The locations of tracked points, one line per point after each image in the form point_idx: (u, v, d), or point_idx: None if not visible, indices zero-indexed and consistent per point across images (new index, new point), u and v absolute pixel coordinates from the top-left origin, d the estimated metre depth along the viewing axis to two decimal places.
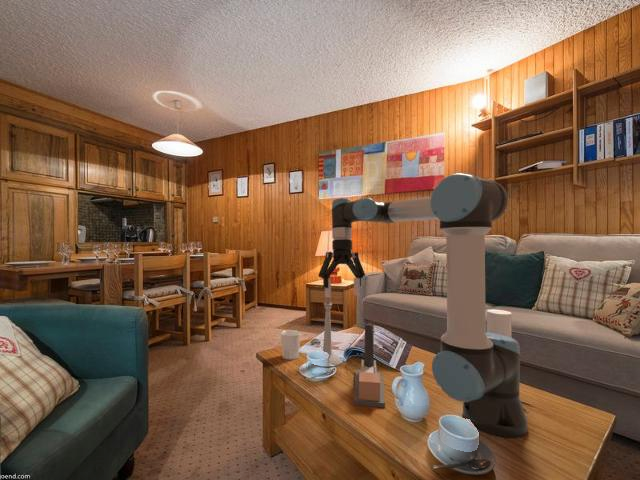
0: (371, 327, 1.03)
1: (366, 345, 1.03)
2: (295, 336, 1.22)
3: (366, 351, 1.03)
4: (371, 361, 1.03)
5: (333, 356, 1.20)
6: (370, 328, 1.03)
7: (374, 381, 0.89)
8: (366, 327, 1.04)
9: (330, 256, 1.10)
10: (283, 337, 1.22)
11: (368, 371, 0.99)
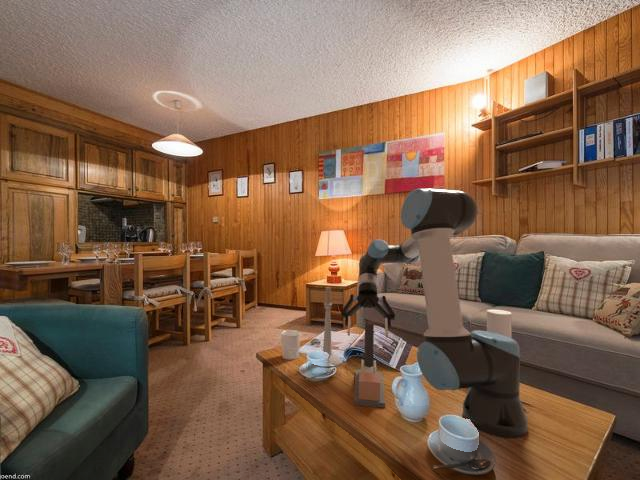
0: (371, 327, 1.03)
1: (366, 345, 1.03)
2: (295, 336, 1.22)
3: (366, 351, 1.03)
4: (371, 361, 1.03)
5: (333, 356, 1.20)
6: (370, 328, 1.03)
7: (374, 381, 0.89)
8: (366, 327, 1.04)
9: (351, 298, 1.19)
10: (283, 337, 1.22)
11: (368, 371, 0.99)
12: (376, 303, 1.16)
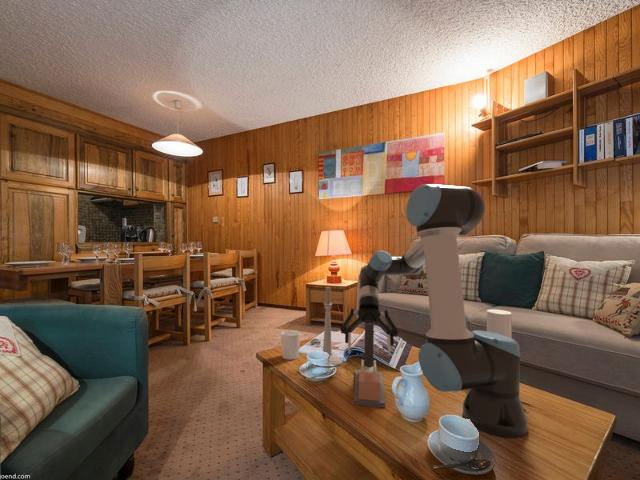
0: (371, 327, 1.03)
1: (366, 345, 1.03)
2: (295, 336, 1.22)
3: (366, 351, 1.03)
4: (371, 361, 1.03)
5: (333, 356, 1.20)
6: (370, 328, 1.03)
7: (374, 381, 0.89)
8: (366, 327, 1.04)
9: (351, 312, 1.13)
10: (283, 337, 1.22)
11: (368, 371, 0.99)
12: (378, 318, 1.09)
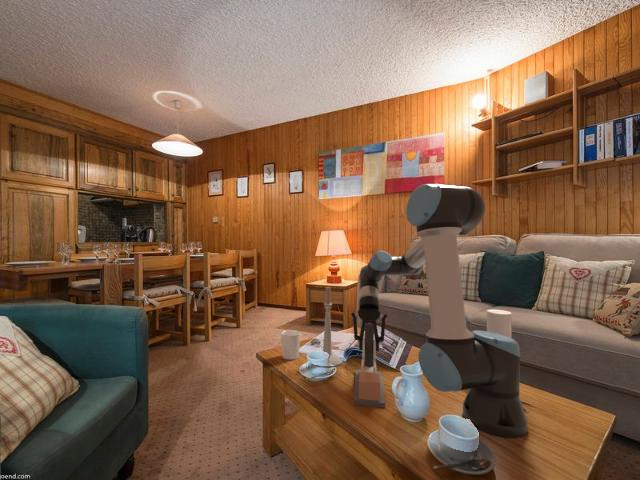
0: (371, 327, 1.03)
1: (366, 345, 1.03)
2: (295, 336, 1.22)
3: (366, 351, 1.03)
4: (371, 361, 1.03)
5: (333, 356, 1.20)
6: (370, 328, 1.03)
7: (374, 381, 0.89)
8: (366, 327, 1.04)
9: (354, 316, 1.11)
10: (283, 337, 1.22)
11: (368, 371, 0.99)
12: (373, 320, 1.09)
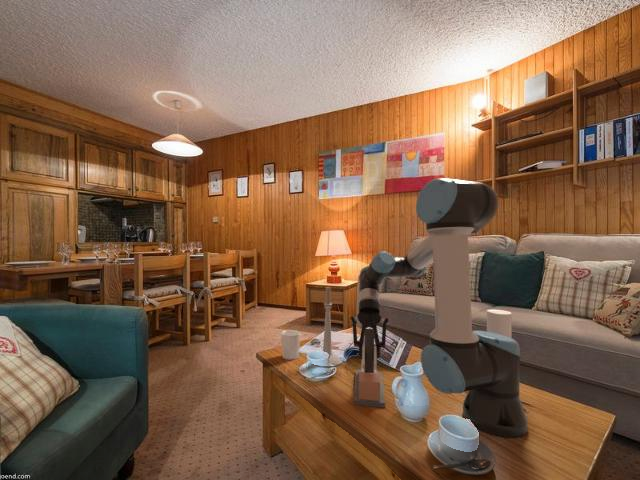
0: (371, 332, 0.97)
1: (366, 351, 0.98)
2: (295, 336, 1.22)
3: (366, 358, 0.97)
4: (371, 368, 0.97)
5: (333, 356, 1.20)
6: (370, 333, 0.97)
7: (374, 381, 0.89)
8: (366, 332, 0.98)
9: (353, 320, 1.05)
10: (283, 337, 1.22)
11: None
12: (374, 324, 1.03)
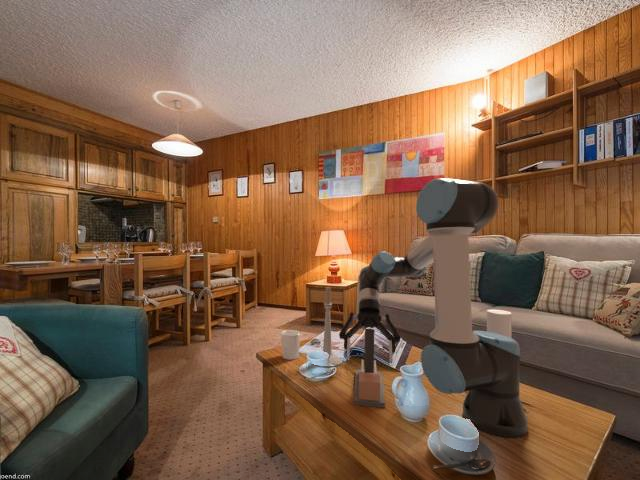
0: (371, 332, 0.97)
1: (366, 351, 0.97)
2: (295, 336, 1.22)
3: (366, 358, 0.97)
4: (371, 368, 0.97)
5: (333, 356, 1.20)
6: (370, 333, 0.97)
7: (374, 381, 0.89)
8: (366, 332, 0.98)
9: (351, 316, 1.07)
10: (283, 337, 1.22)
11: None
12: (379, 323, 1.03)
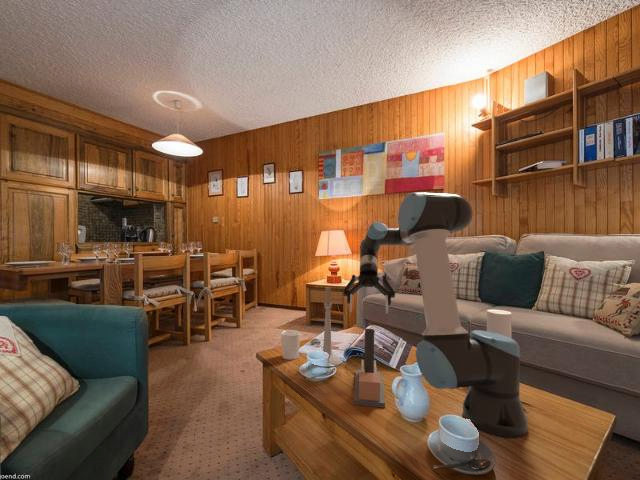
0: (371, 332, 0.97)
1: (366, 351, 0.97)
2: (295, 336, 1.22)
3: (366, 358, 0.97)
4: (371, 368, 0.97)
5: (333, 356, 1.20)
6: (370, 333, 0.97)
7: (374, 381, 0.89)
8: (366, 332, 0.98)
9: (353, 277, 1.24)
10: (283, 337, 1.22)
11: None
12: (377, 282, 1.21)
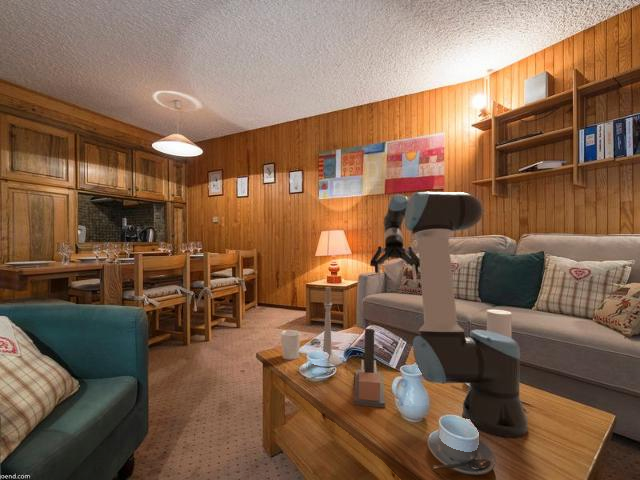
0: (371, 332, 0.97)
1: (366, 351, 0.97)
2: (295, 336, 1.22)
3: (366, 358, 0.97)
4: (371, 368, 0.97)
5: (333, 356, 1.20)
6: (370, 333, 0.97)
7: (374, 381, 0.89)
8: (366, 332, 0.98)
9: (379, 249, 1.27)
10: (283, 337, 1.22)
11: None
12: (403, 253, 1.24)
